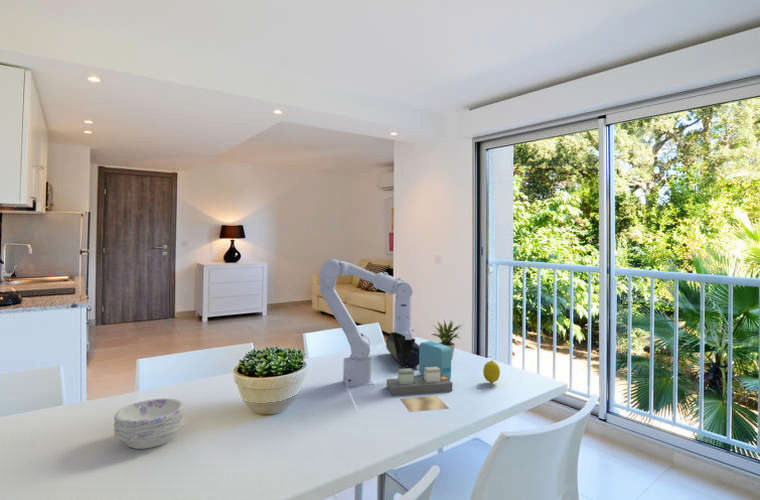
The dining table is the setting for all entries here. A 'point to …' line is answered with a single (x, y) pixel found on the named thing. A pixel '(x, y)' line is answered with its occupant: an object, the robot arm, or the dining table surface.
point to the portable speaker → (409, 362)
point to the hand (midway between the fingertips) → (402, 355)
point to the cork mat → (423, 403)
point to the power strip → (419, 386)
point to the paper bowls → (149, 422)
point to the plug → (405, 376)
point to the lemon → (491, 371)
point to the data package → (435, 357)
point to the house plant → (447, 335)
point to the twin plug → (431, 374)
